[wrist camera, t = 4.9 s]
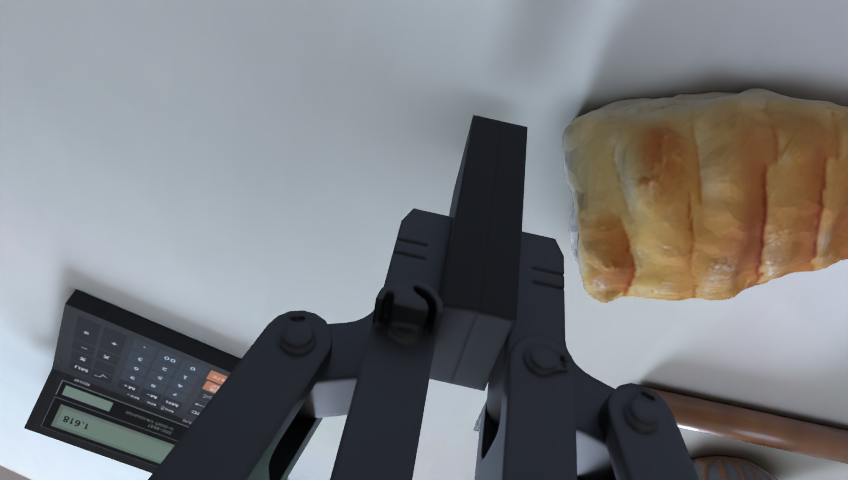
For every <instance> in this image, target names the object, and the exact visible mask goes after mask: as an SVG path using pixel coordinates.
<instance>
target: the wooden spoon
mask: <svg viewBox="0 0 848 480" xmlns="http://www.w3.org/2000/svg"><path fill="white" fill-rule="evenodd" d="M649 389H651V390H652V391H654V392H656V393H657V394H658V395H659V396H660V397H661V398H662V399H663V400H664V401H665V402H666V403H667V404H668V406H669V408H670V410H671V411H672V413H673V415H674V417H675V420H676V423H677V425H678V427H679V428H684V429H689V430H693V431H698V432H703V433H707V434H712V435H716V436H721V437H726V438H730V439H735V440H739V441H744V442H749V443H753V444H758V445H763V446H767V447H772V448H776V449H781V450H786V451H790V452H795V453H800V454H804V455H809V456H813V457H818V458H823V459H827V460H832V461H837V462H841V463H846V464H848V431H846V430H842V429H837V428H833V427H828V426H823V425H819V424H814V423H810V422H805V421H800V420H796V419H791V418H786V417H782V416H777V415H773V414H768V413H763V412H759V411H754V410H749V409H745V408H740V407H736V406H731V405H726V404H722V403H717V402H712V401H708V400H703V399H699V398H694V397H689V396H685V395H680V394H675V393H671V392H666V391H662V390H657V389H652V388H649Z"/></svg>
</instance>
